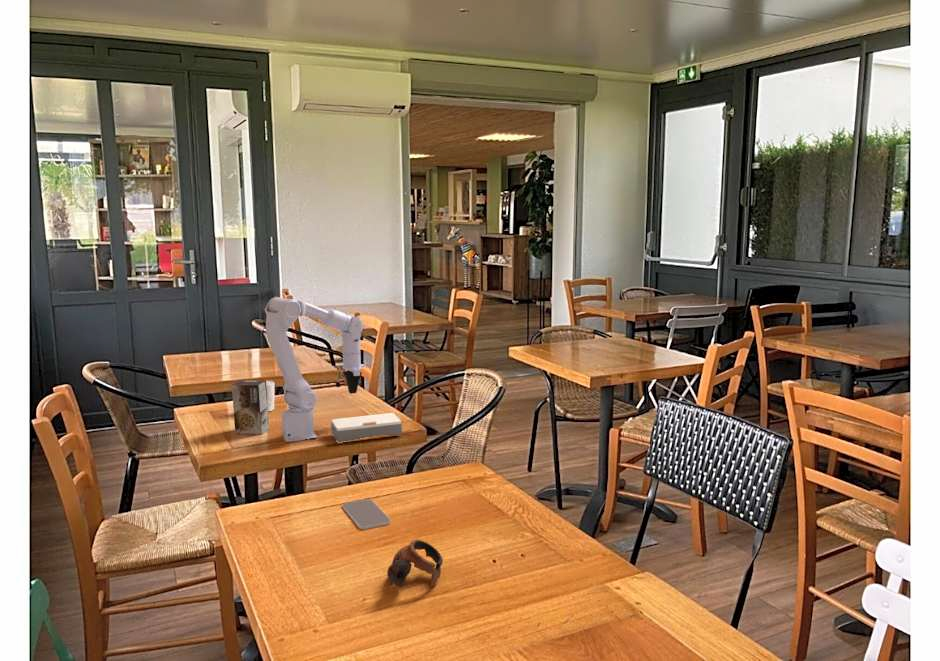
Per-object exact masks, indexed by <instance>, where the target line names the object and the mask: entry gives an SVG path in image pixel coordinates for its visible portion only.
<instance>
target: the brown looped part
mask: <svg viewBox="0 0 940 661" xmlns="http://www.w3.org/2000/svg"><path fill="white" fill-rule="evenodd" d="M416 550H424V551H425V557H429V558H431V559H432V561H429V560H427V559H425V557H422V556H421V555H420V554H419V553H418V552H417V551H416ZM443 562H444V560H443V556H442V555H441V553H440V552H439V551H438V549H436V548H435V547H434V546H433V545H432V544H430V543H428V542H427V541H423V540H421V539H415V540H412V541H410V543H409V544H408V545H405V546H403V547H401V548H400V549H399V550H398V551H397V552H396V554H394V557H393V559H392V562H391V564H390V566H388V569H387V572H386V575H387V580H388V584H390V586H393V585H394V584H395V586H398V587H403V586H404V584H405V581H406V579H407V577H408V575H409V574H410V572H411V569H412V566H413V567H414V568H416V569H419V571H424V572H426V573H427V574H430V575H431V579H430V582H429V586H430V587H434V586H436V584H437V582H438V580H439V579H440V577H441V573H442V569H441V566H442V565H443ZM412 564H413V565H412Z"/></svg>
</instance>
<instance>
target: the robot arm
mask: <svg viewBox="0 0 940 661" xmlns="http://www.w3.org/2000/svg"><path fill="white" fill-rule="evenodd" d="M264 312H265V315H266V319H265V334H266V337H267V339H268V342H269V345H270V347H271V350H272V352H273V356H274V357H275V359H276V362H277V365H278V367H279V369H280V370H279V371H280V373H281V376H282V378H283V380H284V385H283V386H282V388H283V399H284V401H285V403H286V404H287V405H288V409H287V410H283V411H281V423H282V430H281V432H282V433H281V434H282V437H283V439H284V442H286V443H289V442H297V441H306V440H305V439H307V440H311V439H310V438H316V437H317V438H318V436H317V434H316V433H315V431H314V430H315V429H314V428H315V427H314V409H315V407H316V406H317V403H318V396H317V394H316V392H315V391H314V390H313V389H312V388H311V386H310V384H309V383H308V382H307V380H306V379H304V377H303V375H302V371H301V369H300V367H299V363H298V361H297V358H296V356H295V353H294V351H293V348H292V346H291V343H290V341H289V337H288V335H287V332H288V330H289V329H290V327H291V326H292V325H293V324H294V323H295V322H296V321H297V320H298V318H299V317H303V316H304V315H306V316H309V317H312V318H315V319H319V320H321V321H322V324H323V325H325V326H326V327H329V328H332V329H335V330H337V331H339V332H340V333H341V337H342V338H341V340H342V343H341V344H342V346H341V347H342V369H343V370H345V371H342V375H343V376H344V378H345V382H346V385H347V390H348V393H349V394H357V391H358V385H359V383H360V379H361V377H362V375H363V373H362V371H361V369H362V368H365V364H362V363H361V362H362V361H361V360H362V356H361V338H362V332H363V330H364V326H365V325H364V324H363V321H362V320H361V317H358V316H355V315H350V312H343V311H341V310H339V308H337V307H333V306H332V307H328V308H326V309H324V308H321V307H318V306H316V305H315V304H311V303H309V302H306V301H302V300H296V299H295V298H291V299H290V298H284V297H279V296H274V297H272V298H271V299H269V301H268V302H267V304H266V306H265V308H264ZM317 438H316V439H317Z"/></svg>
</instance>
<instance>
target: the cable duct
mask: <svg viewBox="0 0 940 661" xmlns="http://www.w3.org/2000/svg"><path fill="white" fill-rule="evenodd" d="M402 424H403V423H402ZM402 424H395V425H386V426H378V427H369V428H360V429H351V430H343V431H337V430H336V428H335V427H334V425H333V424H332V422H331V421H330V426H331V427H330V428H331V435H332V434H333V435H334V437H335V439H336V440H337V441H338V442H342V441H343V442H344V441H349V440H350V441H351V440H355V439H360V438H365V437H373V436H379V435H380V436H381V435H402V436H403V430H402V429H403V428H402ZM334 437H333V438H334ZM335 439H334V440H335ZM336 440H335V441H336Z"/></svg>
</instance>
